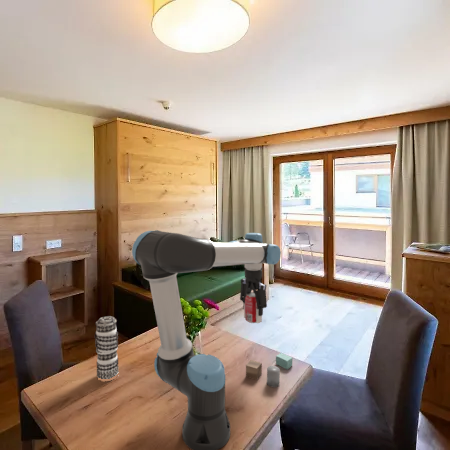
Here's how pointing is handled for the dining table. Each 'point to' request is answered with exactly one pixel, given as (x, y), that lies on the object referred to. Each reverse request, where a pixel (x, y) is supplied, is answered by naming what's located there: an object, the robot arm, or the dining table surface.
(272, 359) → the dining table surface
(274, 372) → the grey capsule
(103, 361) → the decorative candle
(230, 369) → the dining table surface
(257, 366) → the tan block
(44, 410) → the dining table surface
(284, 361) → the teal block
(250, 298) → the soda can
